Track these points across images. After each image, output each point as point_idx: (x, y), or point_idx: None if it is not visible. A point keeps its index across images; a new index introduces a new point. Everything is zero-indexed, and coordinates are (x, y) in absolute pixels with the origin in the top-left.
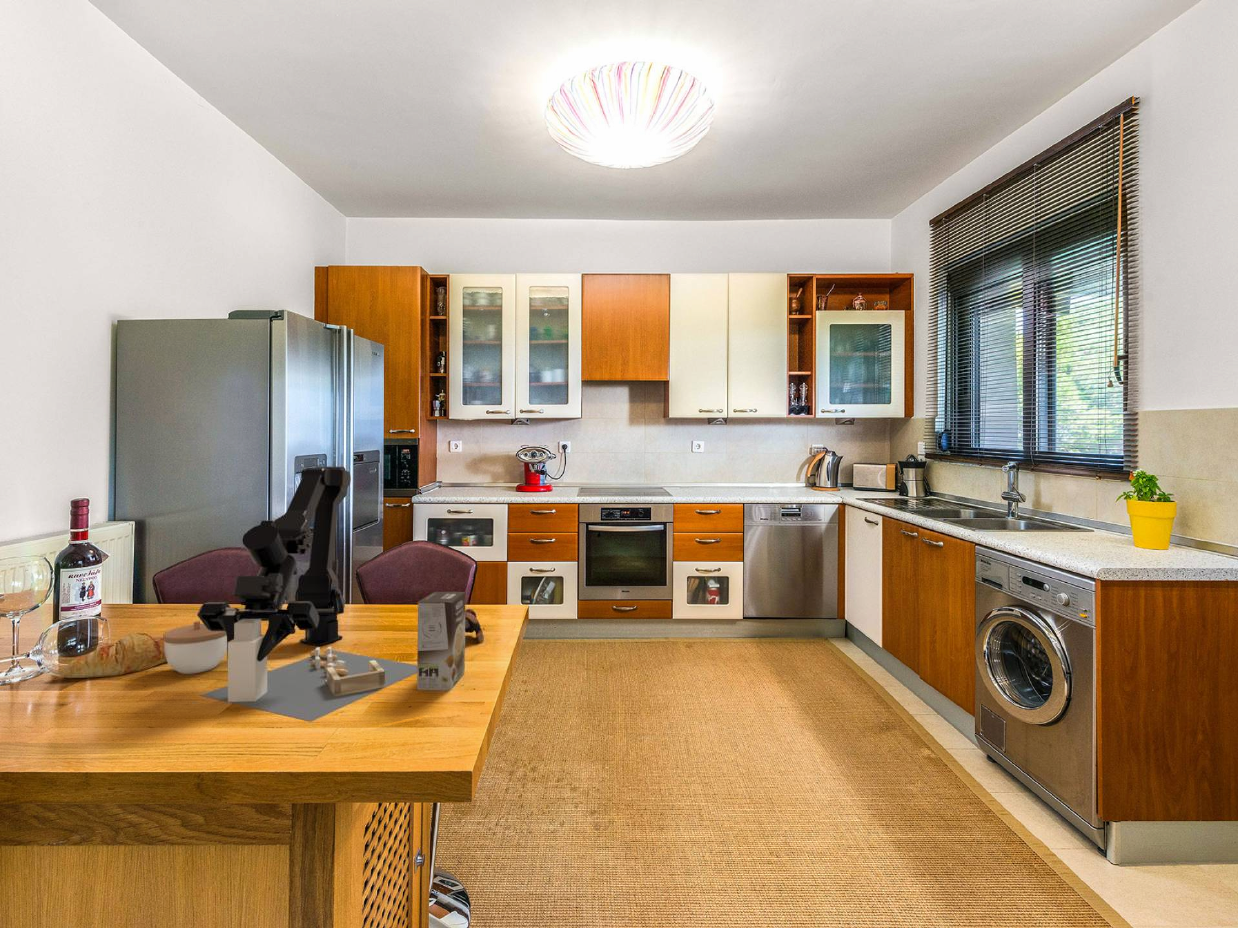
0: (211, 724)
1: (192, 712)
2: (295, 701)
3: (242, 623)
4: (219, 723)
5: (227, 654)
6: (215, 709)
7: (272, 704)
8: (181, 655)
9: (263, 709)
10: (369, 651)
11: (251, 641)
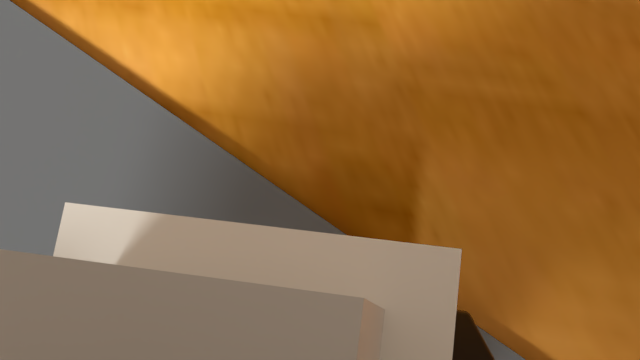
0: (404, 13)
1: (591, 195)
2: (45, 225)
3: (138, 274)
4: (368, 20)
5: (481, 344)
6: (471, 221)
7: (158, 203)
8: None
9: (188, 135)
10: None
11: (125, 249)
